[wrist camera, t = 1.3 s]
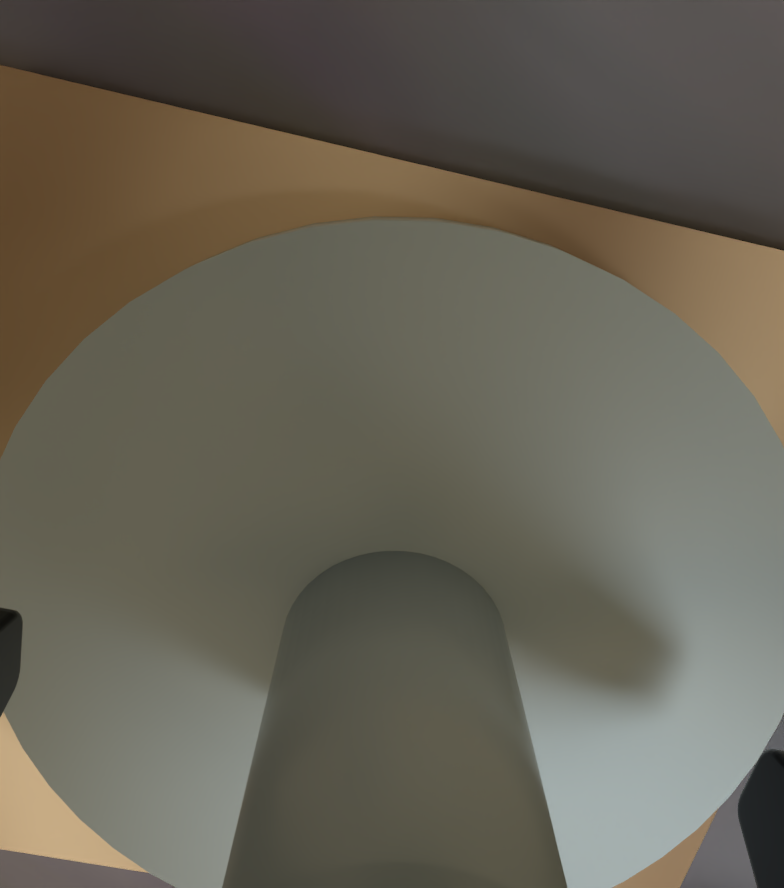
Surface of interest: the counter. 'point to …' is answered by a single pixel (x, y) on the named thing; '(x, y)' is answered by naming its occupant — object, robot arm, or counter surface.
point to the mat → (264, 213)
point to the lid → (394, 568)
